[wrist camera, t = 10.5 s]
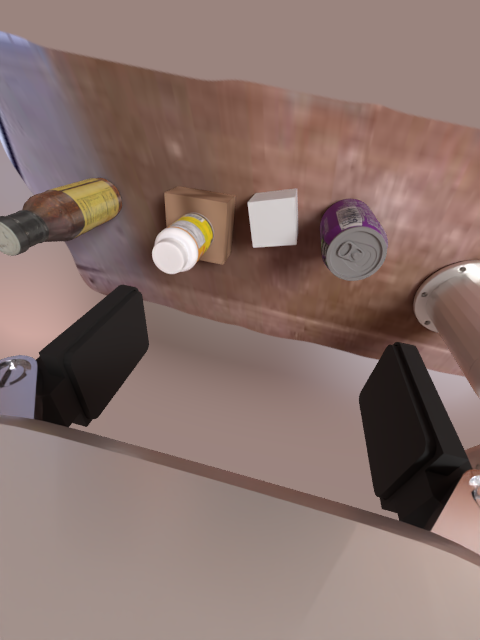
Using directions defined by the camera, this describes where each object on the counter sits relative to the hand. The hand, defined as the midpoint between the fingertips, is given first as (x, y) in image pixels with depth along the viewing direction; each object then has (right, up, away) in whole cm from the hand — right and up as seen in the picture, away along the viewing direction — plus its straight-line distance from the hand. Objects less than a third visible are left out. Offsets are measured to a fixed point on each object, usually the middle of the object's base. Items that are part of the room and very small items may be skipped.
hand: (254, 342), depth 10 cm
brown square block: (-6, +17, +33) cm, 37 cm away
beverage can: (+15, +15, +29) cm, 36 cm away
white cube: (+5, +17, +30) cm, 35 cm away
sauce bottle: (-22, +21, +34) cm, 46 cm away
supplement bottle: (-7, +14, +29) cm, 33 cm away
